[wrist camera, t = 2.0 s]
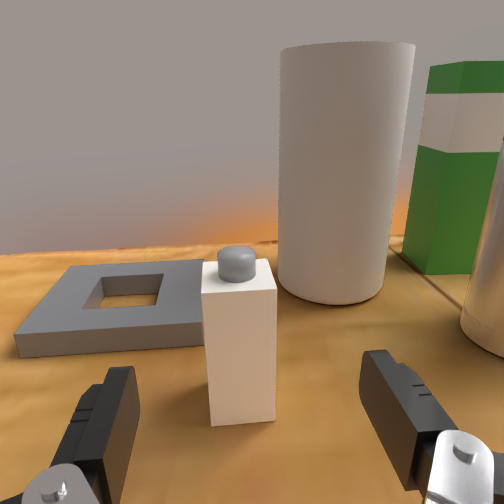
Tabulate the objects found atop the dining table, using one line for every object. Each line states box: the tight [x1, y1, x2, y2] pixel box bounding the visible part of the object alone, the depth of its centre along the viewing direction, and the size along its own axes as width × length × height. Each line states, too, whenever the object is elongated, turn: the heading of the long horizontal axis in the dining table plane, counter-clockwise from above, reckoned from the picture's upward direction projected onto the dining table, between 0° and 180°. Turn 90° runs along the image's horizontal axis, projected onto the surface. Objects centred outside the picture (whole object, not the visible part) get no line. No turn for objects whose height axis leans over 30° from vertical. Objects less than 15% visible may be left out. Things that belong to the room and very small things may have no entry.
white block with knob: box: [201, 246, 277, 427], centre depth 26 cm, size 4×4×12 cm
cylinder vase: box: [277, 41, 415, 305], centre depth 41 cm, size 12×12×25 cm
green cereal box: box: [402, 61, 504, 275], centre depth 46 cm, size 18×7×24 cm, turn 92°
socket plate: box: [13, 259, 205, 358], centre depth 40 cm, size 16×14×2 cm
